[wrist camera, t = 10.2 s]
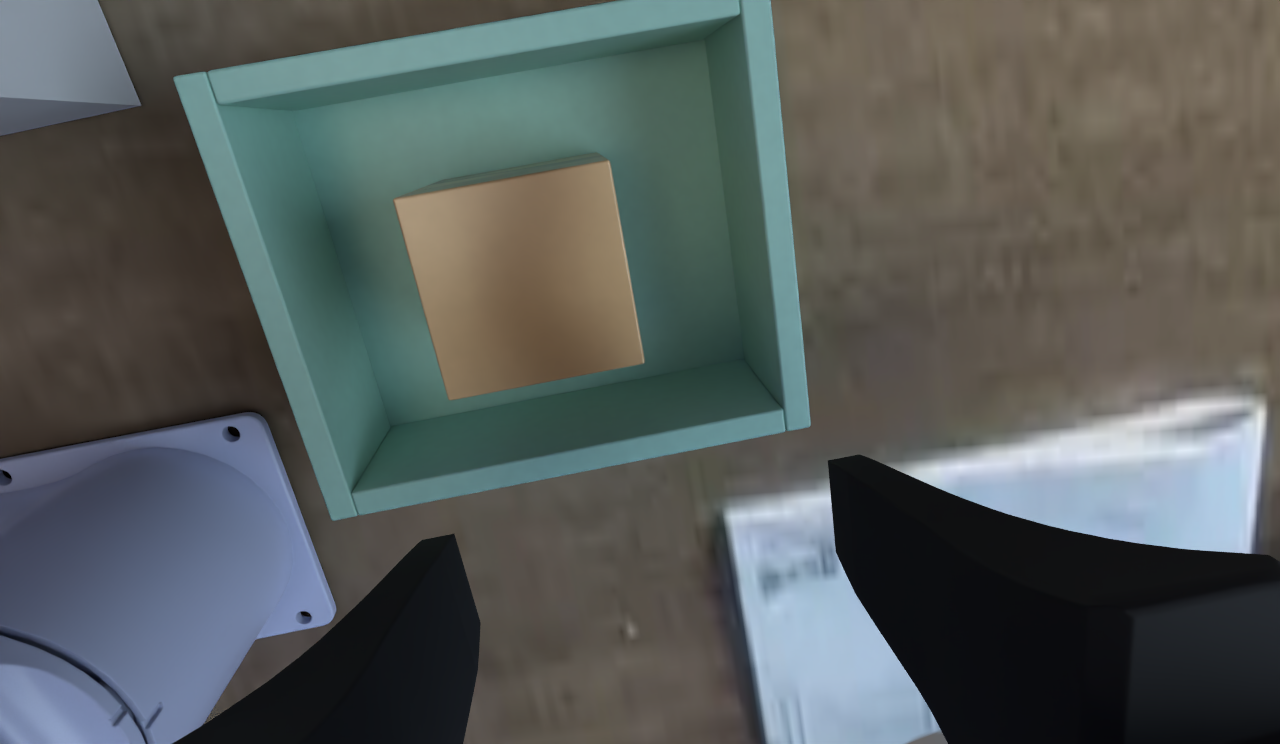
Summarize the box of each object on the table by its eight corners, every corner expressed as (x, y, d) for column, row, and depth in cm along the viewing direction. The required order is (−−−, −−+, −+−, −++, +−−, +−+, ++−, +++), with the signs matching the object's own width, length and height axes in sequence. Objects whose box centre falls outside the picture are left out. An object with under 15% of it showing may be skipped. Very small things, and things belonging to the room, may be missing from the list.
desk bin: (379, 442, 23) (331, 522, 19) (265, 89, 20) (170, 76, 15) (763, 369, 24) (812, 427, 19) (721, 10, 20) (769, -27, 15)
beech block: (479, 332, 22) (448, 401, 16) (440, 180, 20) (391, 198, 15) (625, 304, 22) (645, 364, 16) (598, 152, 21) (610, 159, 15)
